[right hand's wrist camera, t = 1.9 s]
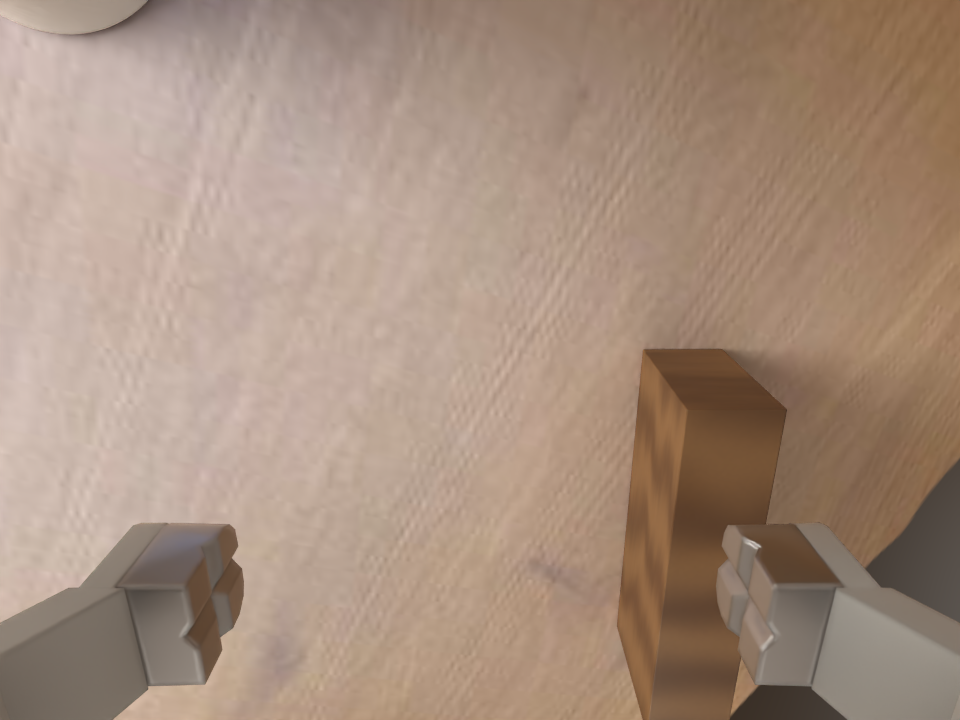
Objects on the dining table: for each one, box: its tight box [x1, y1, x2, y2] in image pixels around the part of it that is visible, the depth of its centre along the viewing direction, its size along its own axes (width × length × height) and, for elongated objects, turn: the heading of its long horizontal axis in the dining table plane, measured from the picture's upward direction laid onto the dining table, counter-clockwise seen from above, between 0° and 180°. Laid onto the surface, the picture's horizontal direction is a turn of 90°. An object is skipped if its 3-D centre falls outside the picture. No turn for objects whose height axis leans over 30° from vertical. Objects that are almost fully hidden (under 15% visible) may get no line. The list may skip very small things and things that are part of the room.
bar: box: [617, 349, 787, 720], centre depth 41 cm, size 23×5×9 cm, turn 0°
